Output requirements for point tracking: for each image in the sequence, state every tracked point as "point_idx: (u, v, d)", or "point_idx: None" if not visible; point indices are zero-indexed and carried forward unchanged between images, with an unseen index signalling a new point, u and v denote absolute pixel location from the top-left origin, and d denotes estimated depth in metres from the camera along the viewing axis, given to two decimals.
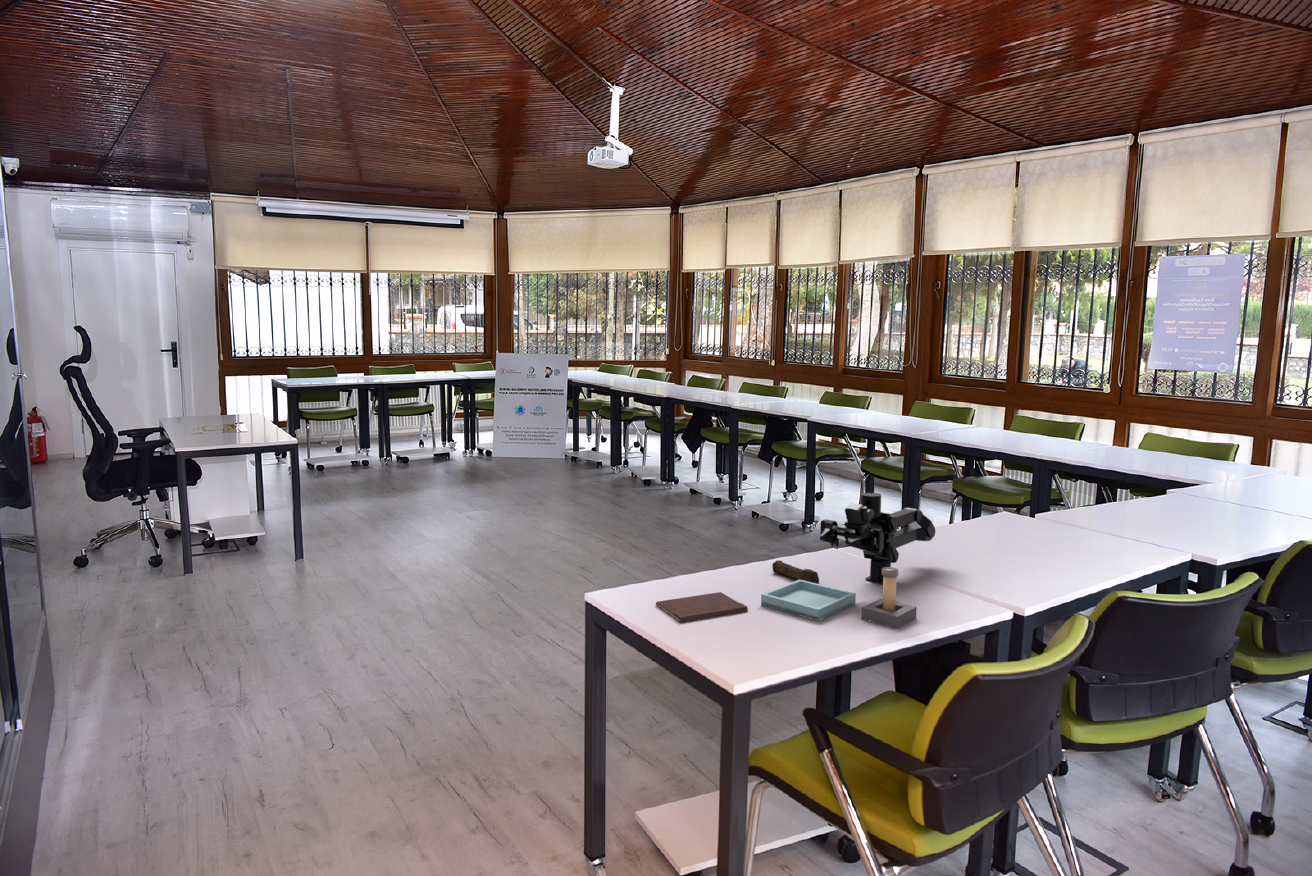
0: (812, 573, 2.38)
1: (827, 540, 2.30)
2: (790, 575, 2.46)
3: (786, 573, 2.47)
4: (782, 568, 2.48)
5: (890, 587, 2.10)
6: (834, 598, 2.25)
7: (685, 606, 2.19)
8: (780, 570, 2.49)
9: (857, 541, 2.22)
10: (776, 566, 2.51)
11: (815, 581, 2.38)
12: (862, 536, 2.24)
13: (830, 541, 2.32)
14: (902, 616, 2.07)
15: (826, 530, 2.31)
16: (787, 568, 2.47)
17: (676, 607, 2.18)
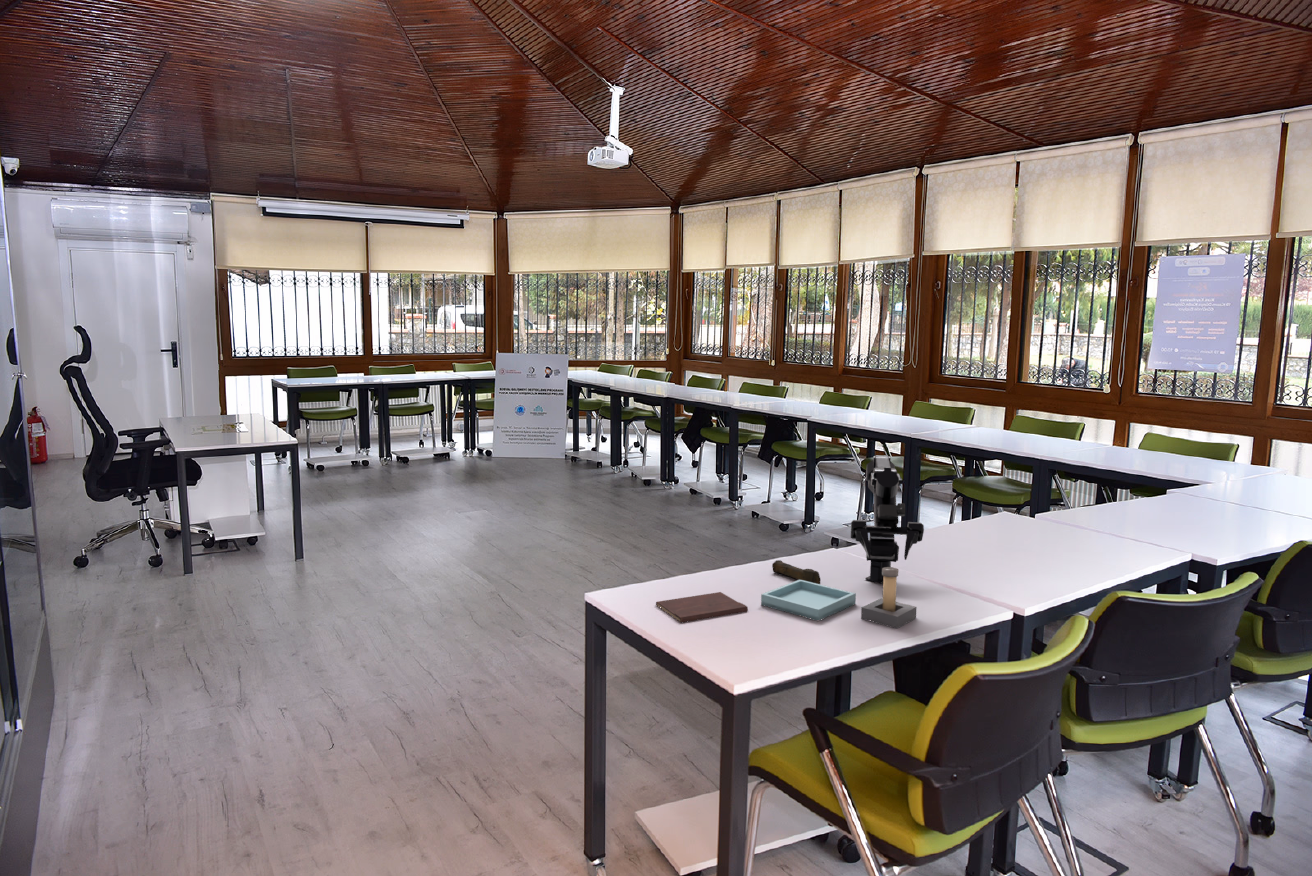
0: (813, 573, 2.38)
1: None
2: (791, 575, 2.46)
3: (786, 573, 2.47)
4: (782, 568, 2.48)
5: (890, 587, 2.10)
6: (834, 598, 2.25)
7: (685, 606, 2.19)
8: (780, 570, 2.49)
9: (908, 550, 2.18)
10: (776, 566, 2.51)
11: (816, 581, 2.38)
12: (909, 540, 2.19)
13: None
14: (902, 616, 2.07)
15: (866, 540, 2.21)
16: (787, 568, 2.47)
17: (676, 607, 2.18)
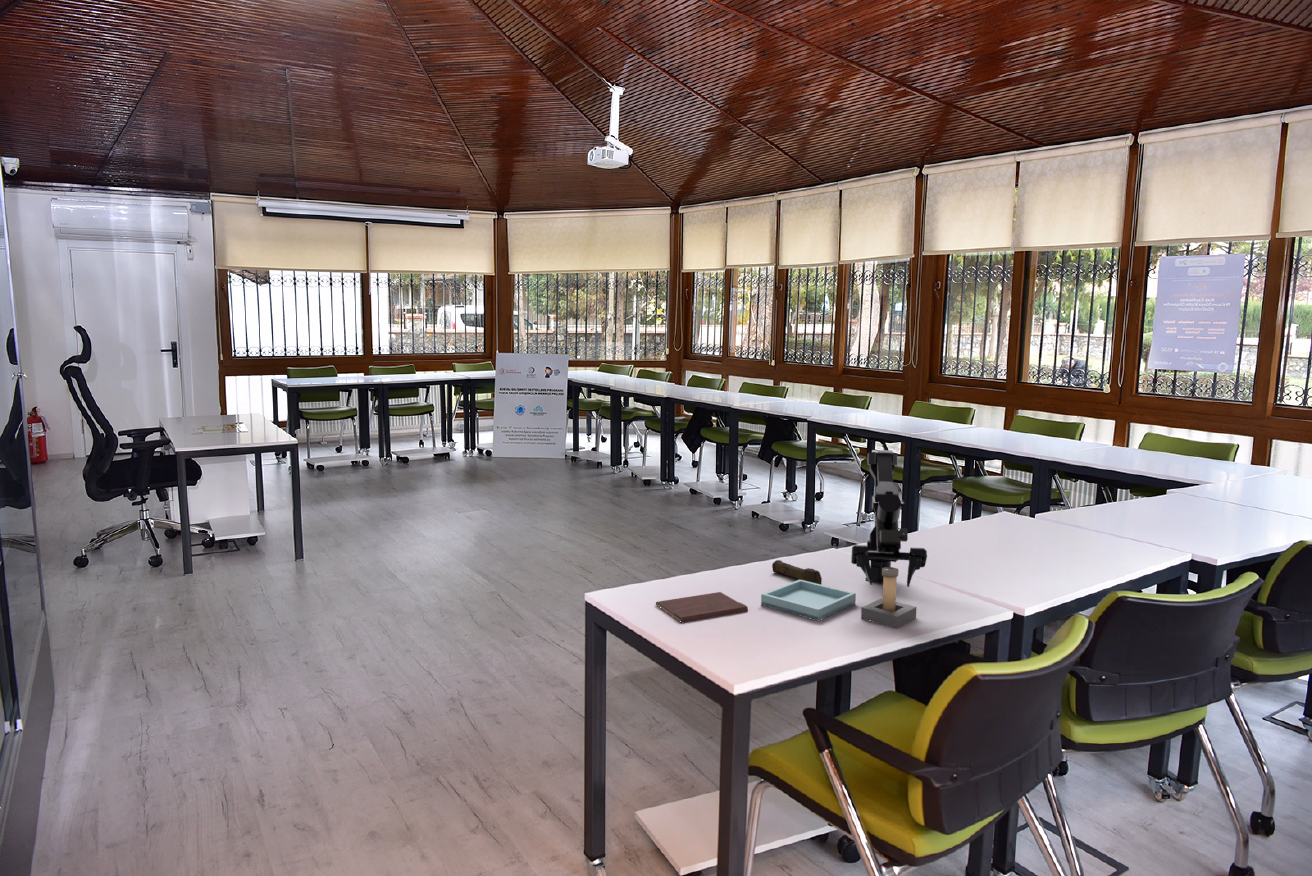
0: (814, 572, 2.38)
1: None
2: (791, 575, 2.46)
3: (787, 573, 2.47)
4: (782, 568, 2.48)
5: (890, 587, 2.10)
6: (834, 598, 2.25)
7: (685, 606, 2.19)
8: (780, 570, 2.49)
9: (911, 577, 2.12)
10: (776, 566, 2.51)
11: (818, 580, 2.38)
12: (911, 567, 2.12)
13: None
14: (902, 616, 2.07)
15: (867, 566, 2.14)
16: (788, 568, 2.47)
17: (676, 607, 2.18)
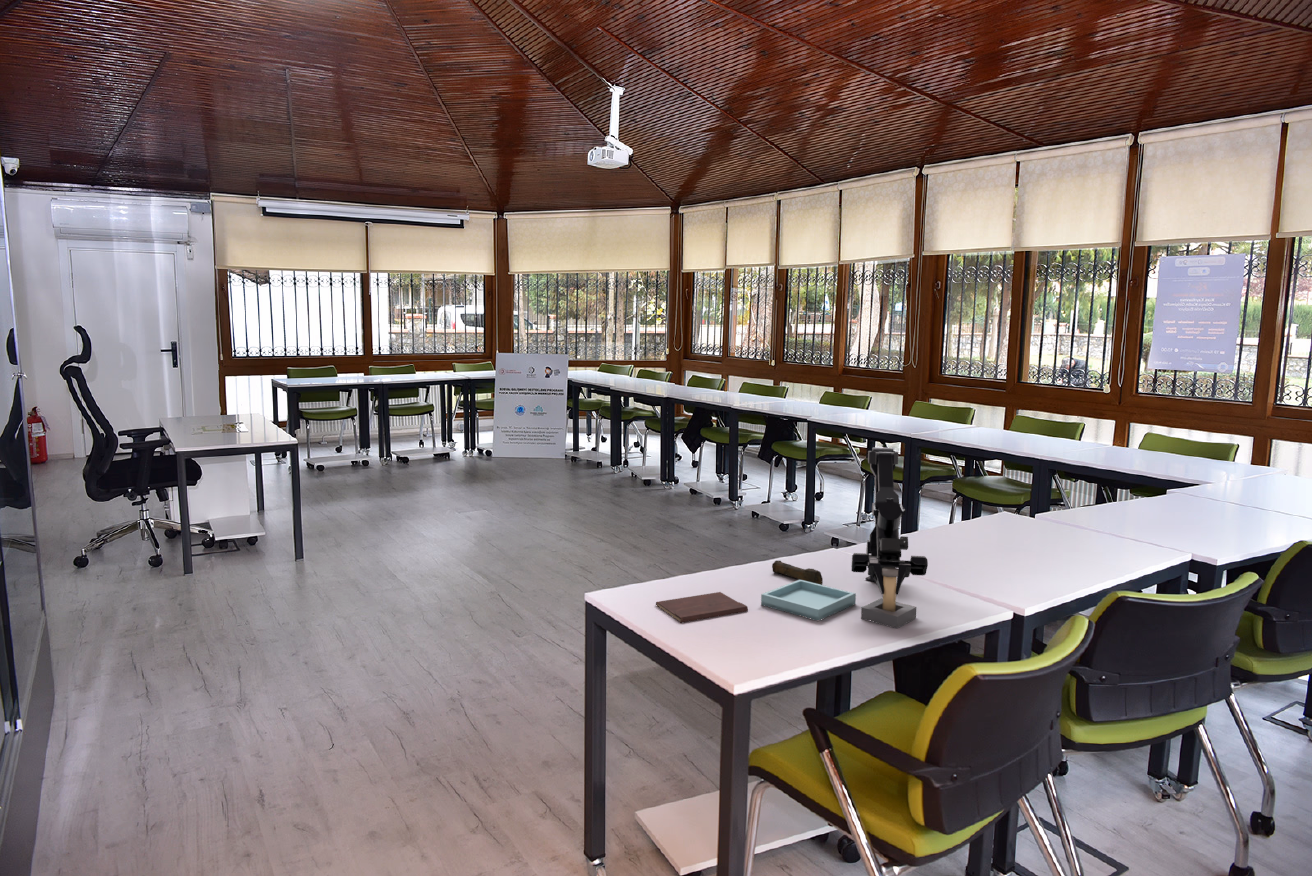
0: (815, 572, 2.39)
1: None
2: (791, 575, 2.46)
3: (787, 573, 2.47)
4: (783, 568, 2.48)
5: (890, 587, 2.10)
6: (834, 598, 2.25)
7: (685, 606, 2.19)
8: (780, 570, 2.49)
9: (900, 585, 2.10)
10: (776, 566, 2.51)
11: (819, 580, 2.38)
12: (900, 575, 2.11)
13: None
14: (902, 616, 2.07)
15: (879, 575, 2.12)
16: (788, 568, 2.47)
17: (676, 607, 2.18)
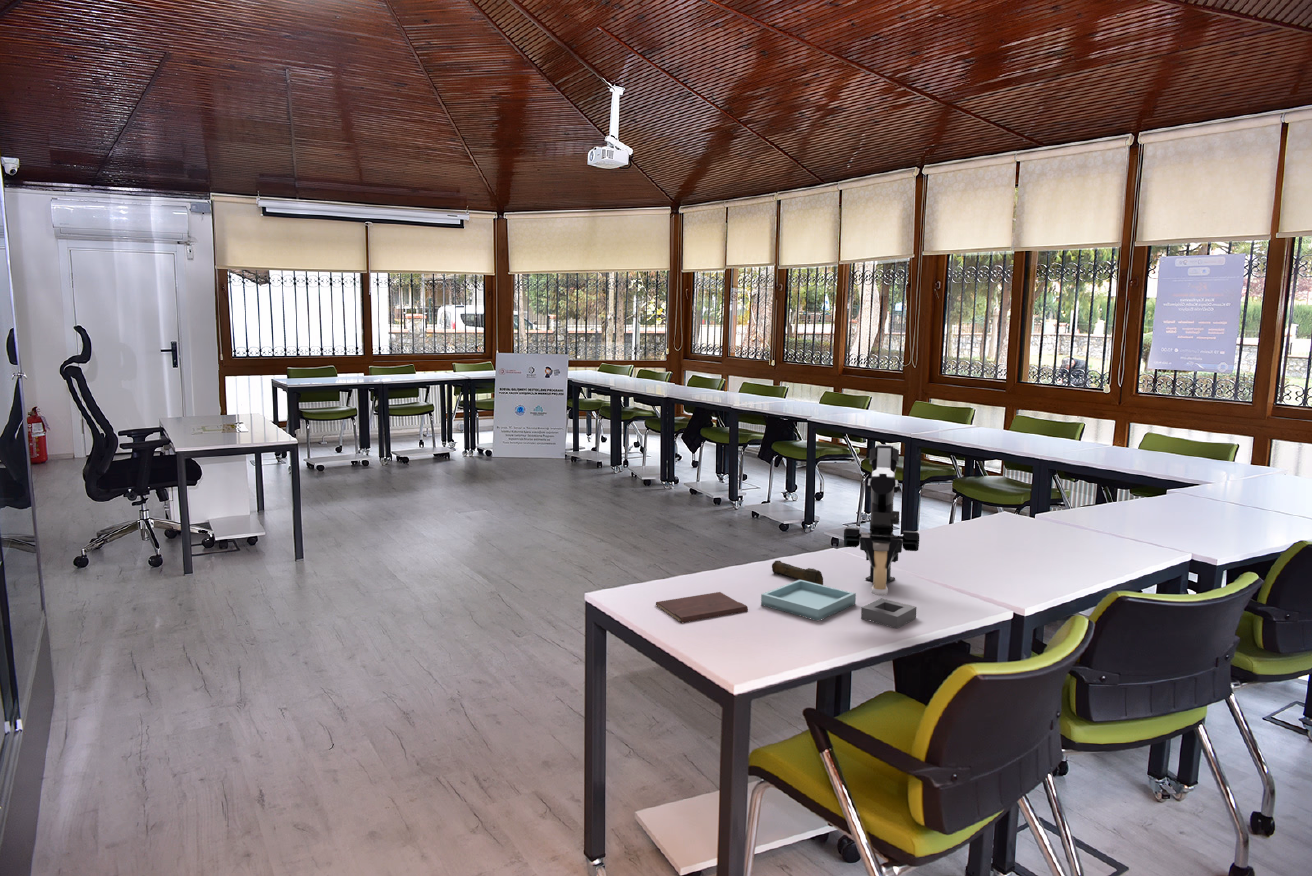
0: (816, 572, 2.39)
1: None
2: (792, 575, 2.46)
3: (787, 573, 2.47)
4: (783, 568, 2.48)
5: (880, 561, 2.09)
6: (834, 598, 2.25)
7: (685, 606, 2.19)
8: (780, 570, 2.49)
9: (891, 559, 2.10)
10: (776, 566, 2.51)
11: (819, 580, 2.38)
12: (891, 549, 2.11)
13: None
14: (902, 616, 2.07)
15: (870, 550, 2.12)
16: (788, 568, 2.47)
17: (676, 607, 2.18)
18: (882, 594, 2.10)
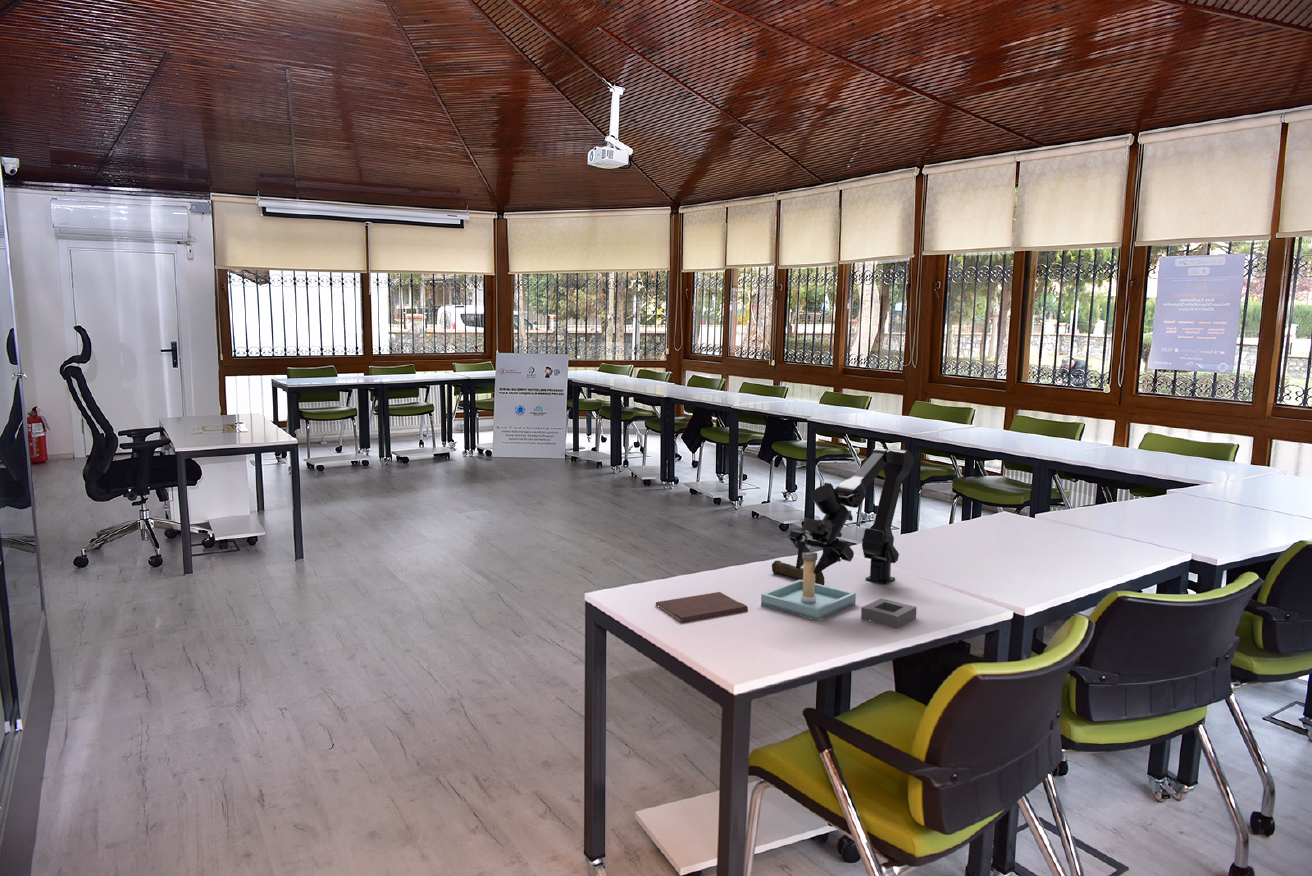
0: None
1: None
2: (792, 575, 2.46)
3: (787, 573, 2.47)
4: (783, 568, 2.48)
5: (805, 570, 2.21)
6: (834, 598, 2.25)
7: (685, 606, 2.19)
8: (781, 570, 2.49)
9: (820, 565, 2.19)
10: (776, 566, 2.50)
11: (821, 580, 2.39)
12: (823, 556, 2.19)
13: None
14: (902, 616, 2.07)
15: (799, 552, 2.25)
16: (789, 568, 2.47)
17: (676, 607, 2.18)
18: (806, 601, 2.21)
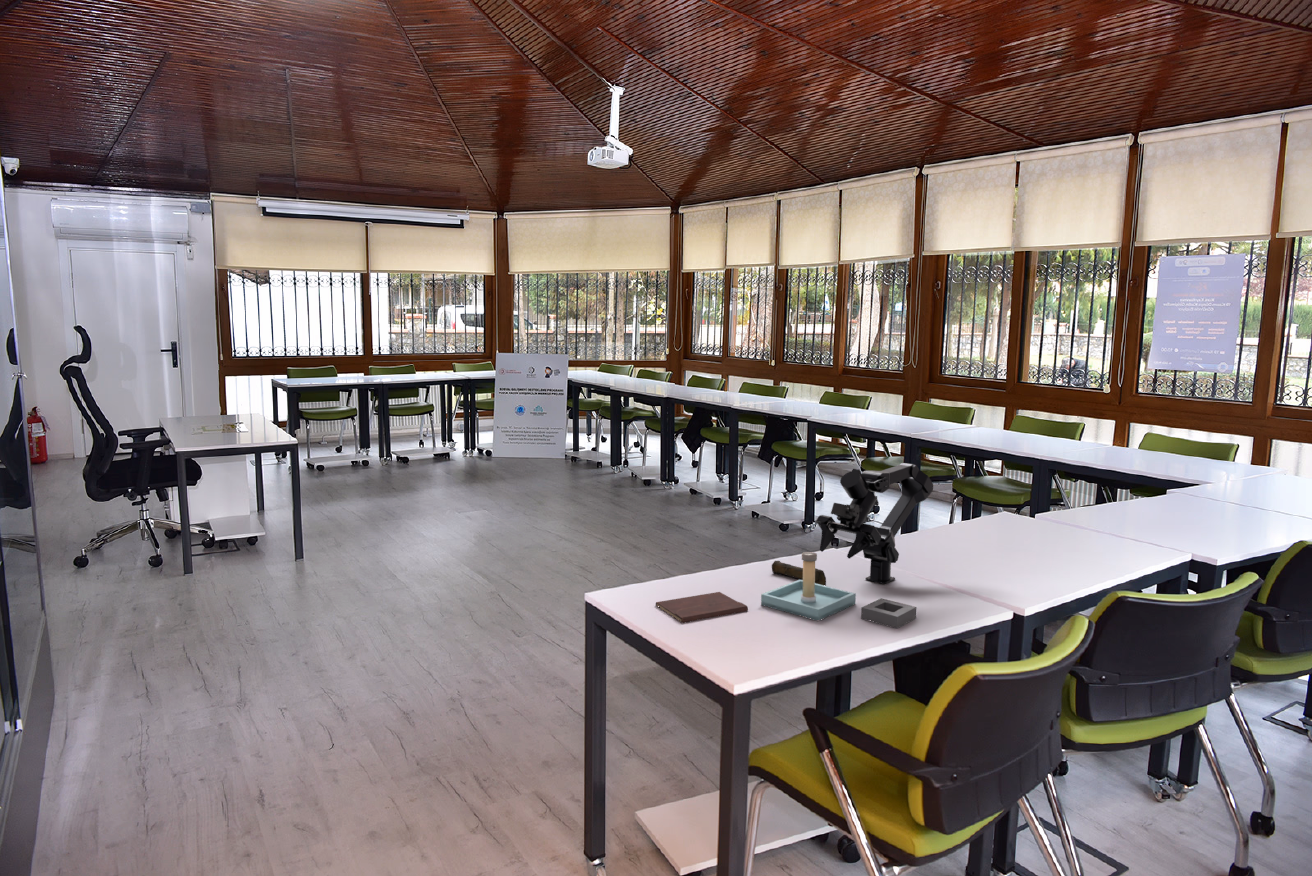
0: (819, 571, 2.39)
1: (828, 542, 2.34)
2: (793, 575, 2.46)
3: (788, 573, 2.47)
4: (783, 568, 2.48)
5: (805, 570, 2.21)
6: (834, 598, 2.25)
7: (685, 606, 2.19)
8: (781, 570, 2.49)
9: (853, 550, 2.24)
10: (776, 566, 2.50)
11: (822, 579, 2.39)
12: (856, 541, 2.25)
13: (832, 538, 2.35)
14: (902, 616, 2.07)
15: (823, 535, 2.33)
16: (789, 568, 2.47)
17: (676, 607, 2.18)
18: (806, 602, 2.21)
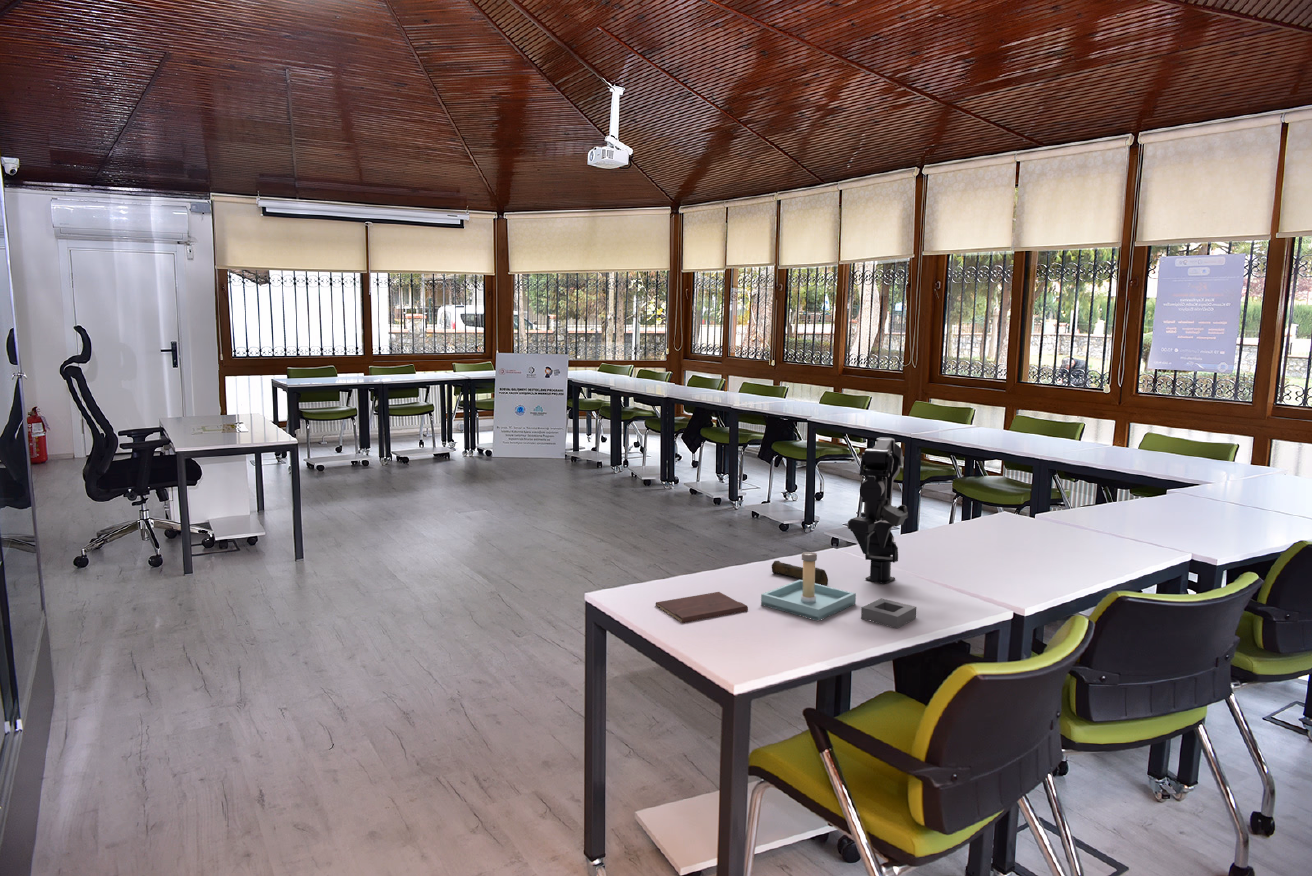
0: (821, 571, 2.40)
1: None
2: (794, 574, 2.46)
3: (789, 573, 2.47)
4: (784, 568, 2.48)
5: (805, 570, 2.21)
6: (834, 598, 2.25)
7: (685, 606, 2.19)
8: (781, 570, 2.49)
9: None
10: (776, 566, 2.50)
11: (824, 579, 2.40)
12: (889, 531, 2.30)
13: None
14: (902, 616, 2.07)
15: (868, 540, 2.23)
16: (790, 568, 2.47)
17: (676, 607, 2.18)
18: (806, 602, 2.21)
